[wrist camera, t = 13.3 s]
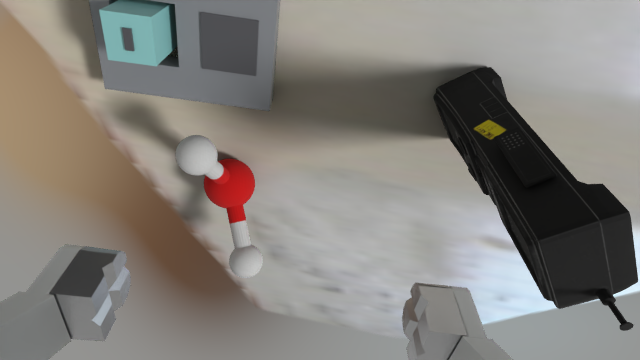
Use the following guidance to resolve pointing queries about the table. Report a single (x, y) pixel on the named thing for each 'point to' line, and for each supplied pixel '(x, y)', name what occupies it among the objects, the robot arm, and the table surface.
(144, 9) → the block
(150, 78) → the outlet plate
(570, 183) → the portable radio
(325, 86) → the table surface
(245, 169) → the molecular model
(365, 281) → the table surface
